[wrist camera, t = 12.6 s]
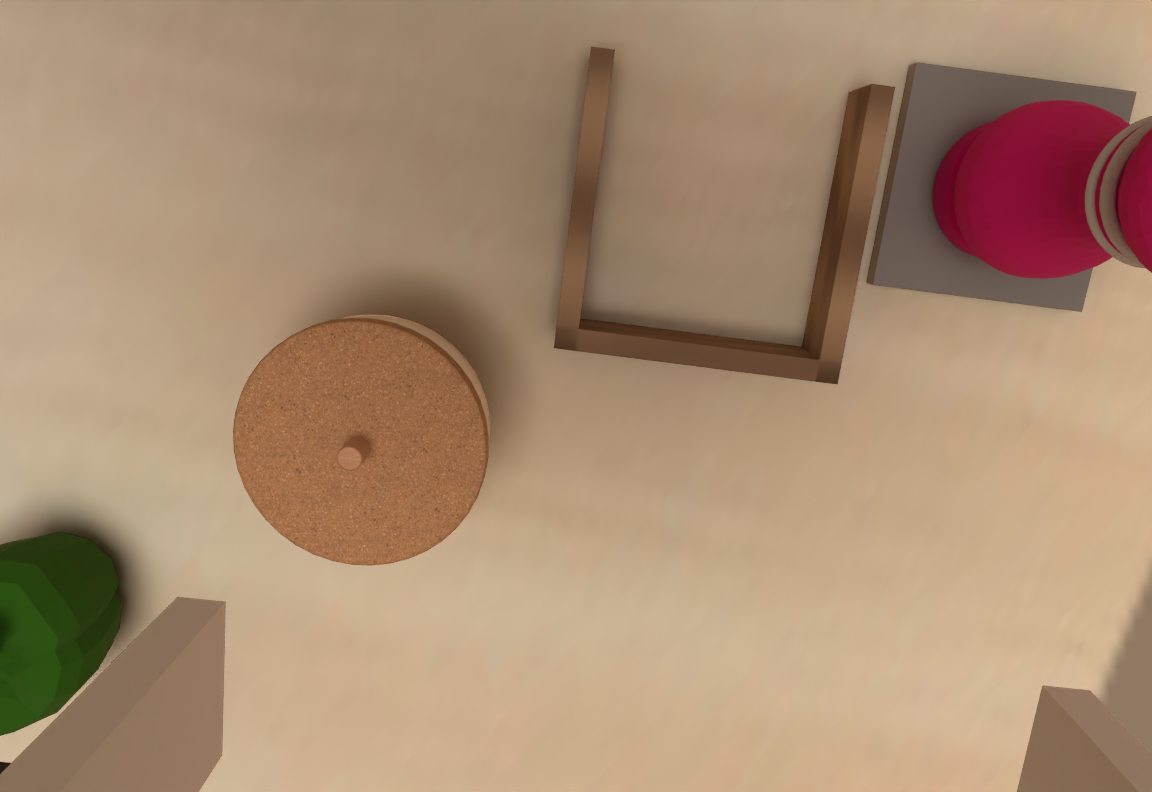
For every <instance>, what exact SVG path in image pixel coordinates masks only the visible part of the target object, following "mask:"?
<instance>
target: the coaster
mask: <svg viewBox="0 0 1152 792" xmlns="http://www.w3.org/2000/svg"><path fill="white" fill-rule="evenodd" d="M1135 96H1136V92H1134V91H1126V90H1119V89H1111V88H1104V87H1096V86H1089V85H1081V84H1074V83H1066V82H1059V81H1051V80H1044V79H1036V78H1029V77H1021V76H1014V75H1006V74H999V73H991V72H984V71H976V70H969V69H961V68H954V67H946V66H939V65H931V64H924V63H914V64H912V65H909V70H908V75H907V80H906V85H905V90H904V95H903V100H902V105H901V110H900V116H899V121H898V126H897V131H896V136H895V141H894V146H893V151H892V156H891V161H890V166H889V172H888V177H887V182H886V187H885V192H884V197H883V202H882V207H881V212H880V217H879V222H878V228H877V233H876V238H875V243H874V248H873V253H872V258H871V263H870V268H869V273H868V278H867V283H869V284H872V285H879V286H887V287H894V288H902V289H910V290H918V291H925V292H933V293H941V294H948V295H956V296H964V297H971V298H979V299H987V300H995V301H1002V302H1010V303H1018V304H1025V305H1033V306H1041V307H1048V308H1056V309H1064V310H1072V311H1079V312H1082V309H1083V305H1084V301H1085V297H1086V293H1087V289H1088V285H1089V281H1090V277H1091V273H1092V269H1093V268H1090V269H1087V270H1084V271H1082V272H1079V273H1076V274H1074V275H1069V276H1065V277H1060V278H1045V279H1040V278H1022V277H1017V276H1013V275H1009V274H1006V273H1004V272H1001V271H999V270H997V269H995V268H993V267H992V266H990V265H988V264H987V263H985V262H984V261H982V260H981V259H980V258H978V257H975V256H972V255H969V254H967V253H965V252H964V251H962V250H960V249H959V248H957V247H956V246H955V245H954V244H953V243H951V242H950V241H949V239H948V238H947V237H946V236H945V234H944V233H943V231H942V230H941V228H940V226H939V224H938V222H937V219H936V216H935V213H934V207H933V186H934V181H935V177H936V174H937V171H938V168H939V166H940V164H941V162H942V160H943V158H944V157H945V155H946V154H947V152H948V151H949V150H950V148H951V147H952V146H953V145H954V144H955V143H956V142H957V141H958V140H959V139H960V138H961V137H962V136H964V135H965V134H967V133H968V132H970V131H971V130H973V129H975V128H977V127H979V126H981V125H984V124H987V123H990V122H994V121H995V120H996V119H998V118H999V117H1000V116H1002V115H1004V114H1006V113H1007V112H1010V111H1012V110H1014V109H1016V108H1018V107H1021V106H1023V105H1027V104H1030V103H1034V102H1039V101H1050V100H1070V101H1077V102H1084V103H1088V104H1091V105H1094V106H1097V107H1100V108H1102V109H1104V110H1107V111H1109V112H1111V113H1113V114H1115V115H1117V116H1119V117H1121V118H1122V119H1123V120H1124V121H1126V122H1127V123H1128V124H1129V120H1130V116H1131V112H1132V108H1133V104H1134V100H1135Z"/></svg>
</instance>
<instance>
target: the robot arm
mask: <svg viewBox="0 0 1152 792" xmlns="http://www.w3.org/2000/svg"><path fill="white" fill-rule="evenodd" d="M225 607H226V602H223V601H213V600H203V599H194V598H184V597H177V598H176V599H175V600H174V601H173V602H172V603H171V604H170V605H169V606H168V607H167V608H166V609H165V610H164V611H163V612H162V613H161V614H160V615H159V616H158V617H157V618H156V619H155V620H154V621H153V622H152V623H151V624H150V625H149V626H148V627H147V628H146V629H145V630H144V631H143V632H142V633H141V634H140V635H139V636H138V637H137V638H136V639H135V640H134V641H133V642H132V643H131V644H130V645H129V646H128V647H127V648H126V649H125V650H124V651H123V652H122V653H121V654H120V655H119V656H118V657H117V658H116V659H115V660H114V661H113V662H112V663H111V664H110V665H109V666H108V667H107V668H106V669H105V670H104V671H103V672H102V673H101V674H100V675H99V676H98V677H97V678H96V679H95V680H94V681H93V682H92V683H91V684H90V685H89V686H88V687H87V688H86V689H85V690H84V691H83V692H82V693H81V694H80V695H79V696H78V697H77V698H76V699H75V700H74V701H73V702H72V703H71V704H70V705H69V706H68V707H67V708H66V709H65V710H64V711H63V712H62V713H61V714H60V715H59V716H58V717H57V718H56V719H55V720H54V721H53V722H52V723H51V724H50V725H49V726H48V727H47V728H46V729H45V730H44V731H43V732H42V733H41V734H40V735H39V736H38V737H37V738H36V739H35V740H34V741H33V742H32V743H31V744H30V745H29V746H28V747H27V748H26V749H25V750H24V751H23V752H22V753H21V754H20V755H19V756H18V757H17V758H16V759H15V760H14V761H13V762H12V763H6V762H0V792H199V790H200V789H201V787H202V786H203V784H204V783H205V781H206V779H207V778H208V776H209V775H210V773H211V772H212V770H213V769H214V767H215V765H216V764H217V762H218V761H219V759H220V758H221V756H222V740H223V696H224V651H225ZM1017 792H1152V753H1151V752H1150V751H1149V750H1148V749H1147V748H1146V747H1145V746H1144V745H1143V744H1142V743H1141V742H1140V741H1139V740H1138V739H1137V738H1136V737H1135V736H1134V735H1133V734H1132V733H1131V732H1130V731H1129V730H1128V729H1127V728H1126V727H1125V726H1124V725H1123V724H1122V723H1121V722H1120V721H1119V720H1118V719H1117V718H1116V717H1115V716H1114V714H1113V713H1111V711H1109V709H1108V708H1107V707H1106V706H1105V705H1104V704H1103V703H1102V702H1101V701H1100V700H1099V699H1098V698H1097V697H1096V696H1095V695H1094V694H1093V693H1092V692H1091V691H1090V690H1081V689H1071V688H1061V687H1051V686H1042V689H1041V693H1040V698H1039V702H1038V706H1037V710H1036V714H1035V718H1034V723H1033V727H1032V731H1031V735H1030V739H1029V743H1028V748H1027V752H1026V756H1025V760H1024V764H1023V768H1022V773H1021V777H1020V781H1019V785H1018V789H1017Z"/></svg>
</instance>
